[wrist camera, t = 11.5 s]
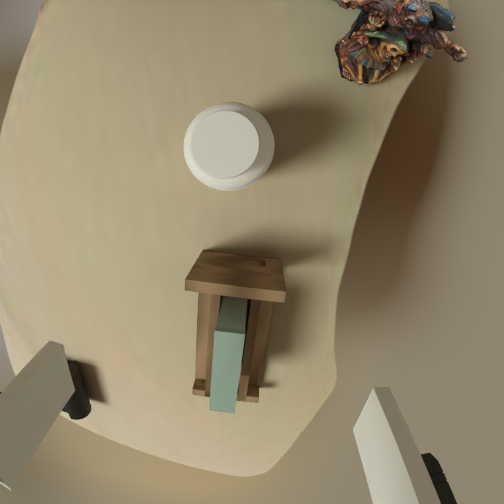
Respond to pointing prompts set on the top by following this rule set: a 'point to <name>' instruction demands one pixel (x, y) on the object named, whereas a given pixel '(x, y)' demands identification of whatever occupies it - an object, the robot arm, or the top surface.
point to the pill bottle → (229, 146)
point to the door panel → (227, 354)
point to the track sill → (257, 315)
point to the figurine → (392, 37)
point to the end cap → (77, 395)
